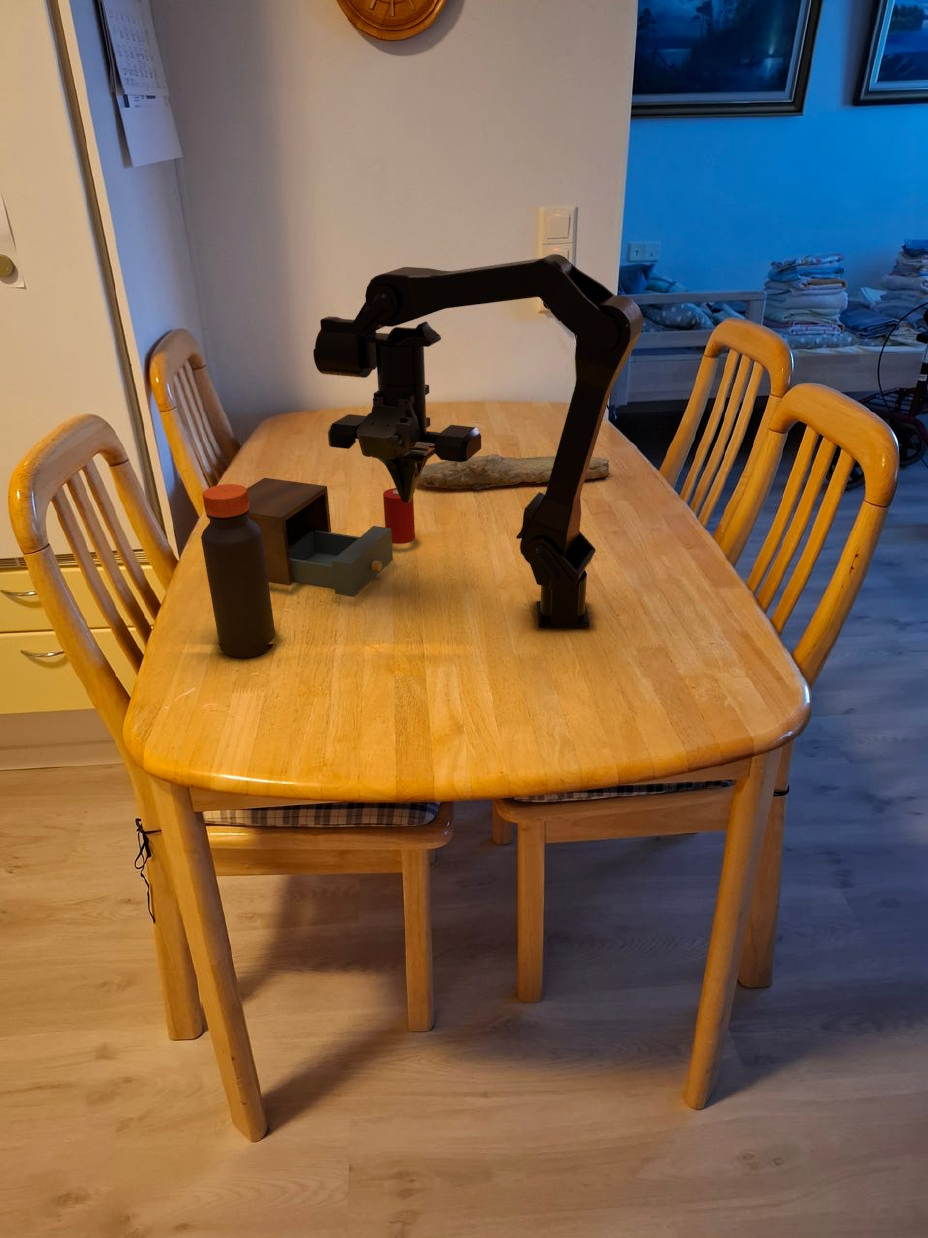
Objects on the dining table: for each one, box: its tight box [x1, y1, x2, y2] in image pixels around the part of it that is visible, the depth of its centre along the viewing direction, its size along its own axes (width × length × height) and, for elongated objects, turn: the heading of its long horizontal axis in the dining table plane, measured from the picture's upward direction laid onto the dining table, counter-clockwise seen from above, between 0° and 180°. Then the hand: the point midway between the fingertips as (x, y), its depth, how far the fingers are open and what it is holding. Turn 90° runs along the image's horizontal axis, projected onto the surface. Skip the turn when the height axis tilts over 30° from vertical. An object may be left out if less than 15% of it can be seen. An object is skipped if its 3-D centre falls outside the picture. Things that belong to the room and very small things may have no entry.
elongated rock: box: [417, 453, 610, 491], centre depth 158 cm, size 35×5×10 cm
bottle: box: [200, 483, 276, 659], centre depth 105 cm, size 7×7×20 cm
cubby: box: [246, 477, 332, 586], centre depth 126 cm, size 10×12×11 cm
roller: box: [382, 487, 416, 545], centre depth 133 cm, size 4×4×8 cm
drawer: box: [288, 525, 394, 598], centre depth 124 cm, size 13×12×6 cm
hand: (406, 501), depth 116 cm, fingers closed
